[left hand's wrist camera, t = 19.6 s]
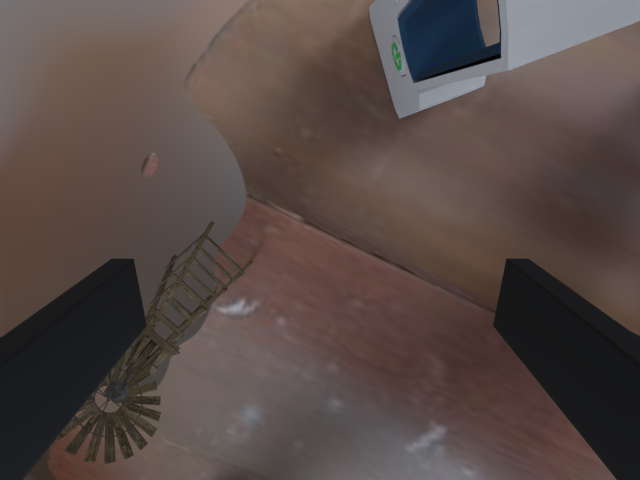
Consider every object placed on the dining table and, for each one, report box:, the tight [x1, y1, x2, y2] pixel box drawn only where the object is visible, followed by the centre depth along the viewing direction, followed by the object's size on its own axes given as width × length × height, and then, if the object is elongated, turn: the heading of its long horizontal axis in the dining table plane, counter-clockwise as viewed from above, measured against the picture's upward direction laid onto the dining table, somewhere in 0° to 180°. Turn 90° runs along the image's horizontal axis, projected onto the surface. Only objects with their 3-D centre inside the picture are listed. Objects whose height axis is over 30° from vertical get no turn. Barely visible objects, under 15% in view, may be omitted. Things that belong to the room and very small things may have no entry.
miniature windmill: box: [55, 222, 253, 464], centre depth 37 cm, size 9×8×30 cm
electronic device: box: [369, 0, 640, 119], centre depth 28 cm, size 12×8×30 cm, turn 20°
